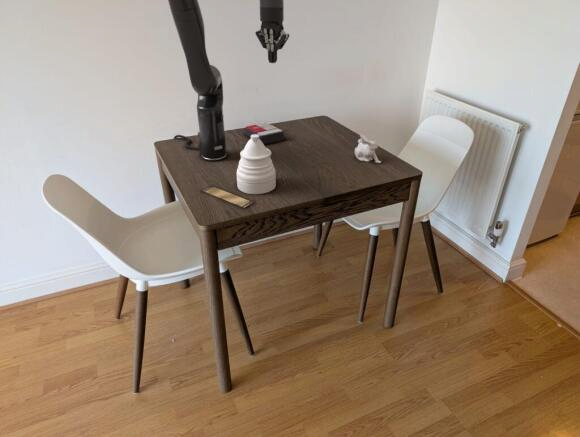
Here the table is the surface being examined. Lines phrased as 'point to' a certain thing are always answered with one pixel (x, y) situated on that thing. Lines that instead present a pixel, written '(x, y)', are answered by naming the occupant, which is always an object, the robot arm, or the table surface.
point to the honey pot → (255, 168)
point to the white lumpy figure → (366, 150)
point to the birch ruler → (228, 197)
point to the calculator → (265, 132)
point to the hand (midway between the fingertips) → (272, 62)
